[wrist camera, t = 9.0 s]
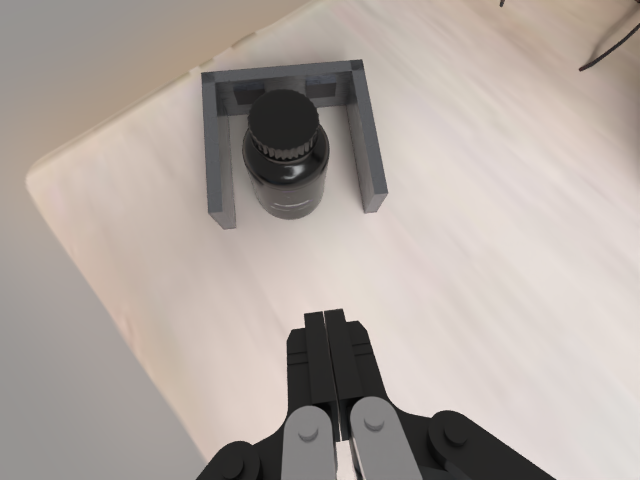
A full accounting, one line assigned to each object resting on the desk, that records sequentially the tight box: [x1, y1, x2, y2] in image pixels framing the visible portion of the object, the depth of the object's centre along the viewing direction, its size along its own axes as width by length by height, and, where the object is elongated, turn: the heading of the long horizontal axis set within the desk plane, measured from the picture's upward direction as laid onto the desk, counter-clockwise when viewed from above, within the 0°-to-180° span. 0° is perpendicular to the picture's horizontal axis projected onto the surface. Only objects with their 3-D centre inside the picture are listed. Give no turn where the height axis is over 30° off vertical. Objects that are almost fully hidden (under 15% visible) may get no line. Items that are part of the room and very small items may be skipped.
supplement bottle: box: [242, 89, 330, 220], centre depth 27 cm, size 7×7×12 cm
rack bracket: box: [201, 59, 388, 229], centre depth 31 cm, size 14×15×5 cm
